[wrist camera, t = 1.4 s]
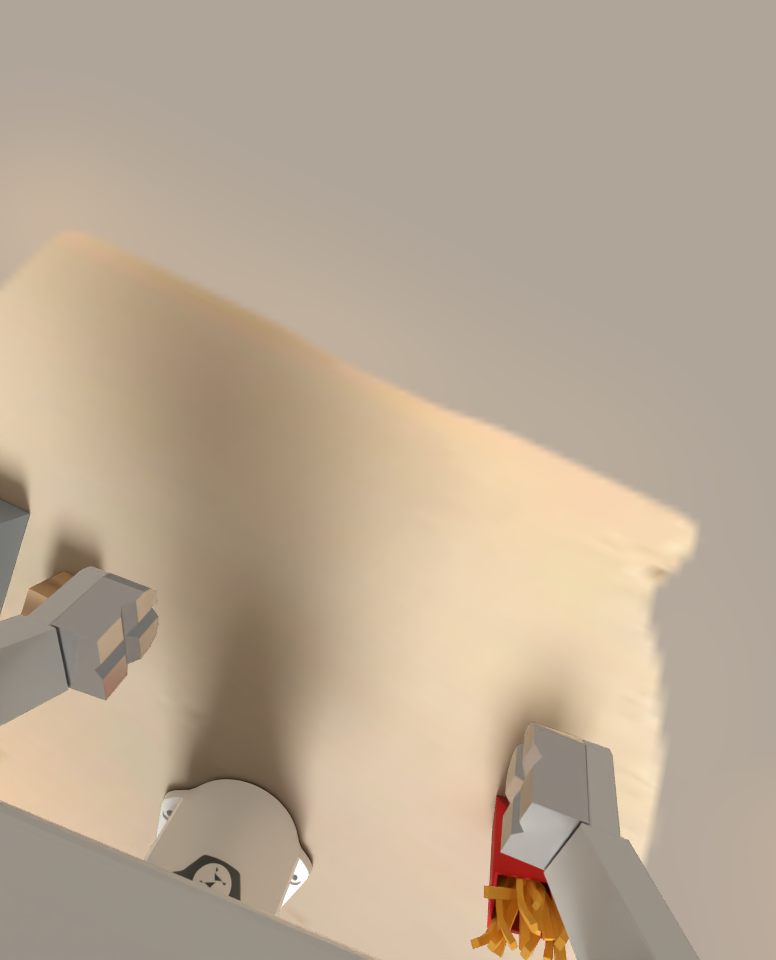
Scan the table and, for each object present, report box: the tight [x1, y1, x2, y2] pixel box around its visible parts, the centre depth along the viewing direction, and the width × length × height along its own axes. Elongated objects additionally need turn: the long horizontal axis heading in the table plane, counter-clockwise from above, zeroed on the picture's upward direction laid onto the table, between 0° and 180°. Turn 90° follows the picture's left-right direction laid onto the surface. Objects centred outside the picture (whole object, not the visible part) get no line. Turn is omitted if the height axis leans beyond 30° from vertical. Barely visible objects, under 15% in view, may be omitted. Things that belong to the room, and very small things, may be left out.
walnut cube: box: [21, 571, 73, 617], centre depth 59 cm, size 5×5×5 cm
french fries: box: [471, 796, 569, 960], centre depth 51 cm, size 9×8×15 cm
